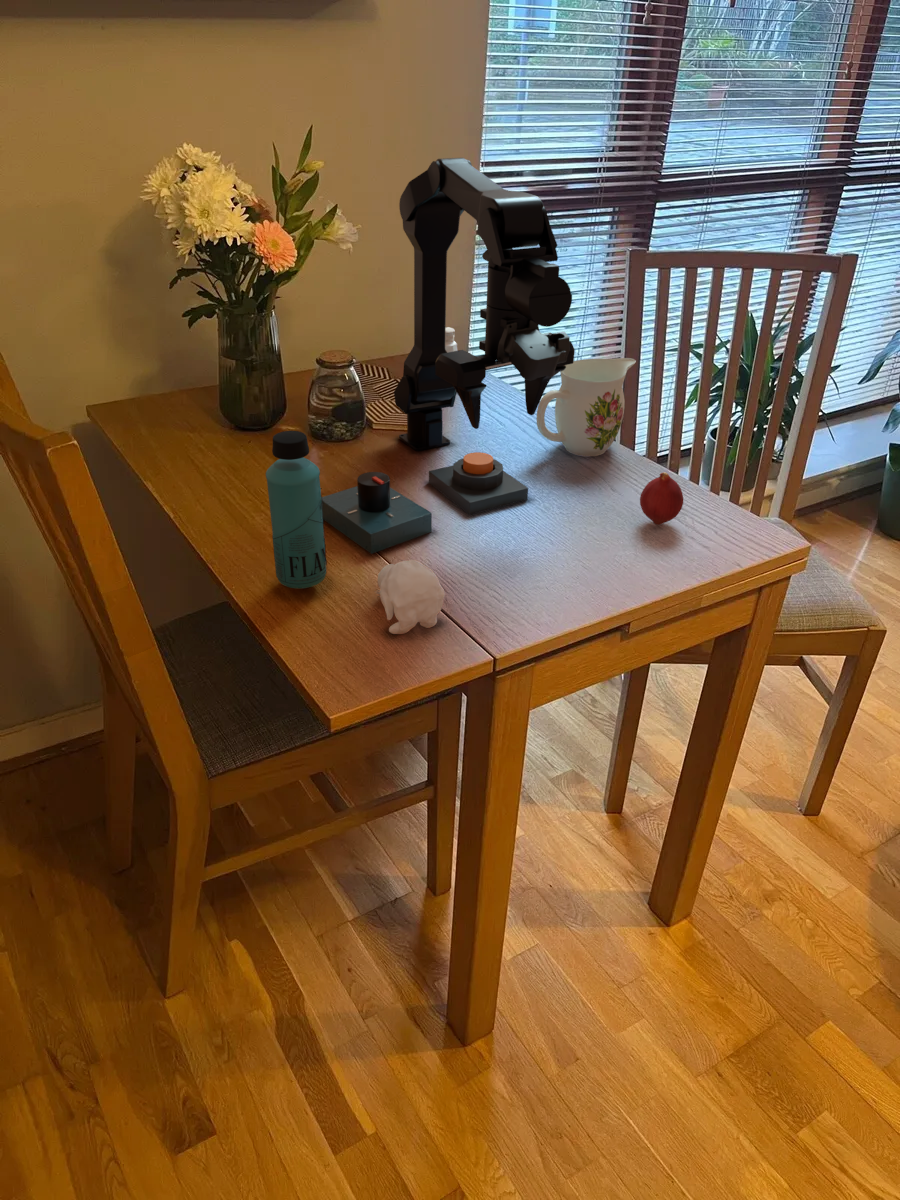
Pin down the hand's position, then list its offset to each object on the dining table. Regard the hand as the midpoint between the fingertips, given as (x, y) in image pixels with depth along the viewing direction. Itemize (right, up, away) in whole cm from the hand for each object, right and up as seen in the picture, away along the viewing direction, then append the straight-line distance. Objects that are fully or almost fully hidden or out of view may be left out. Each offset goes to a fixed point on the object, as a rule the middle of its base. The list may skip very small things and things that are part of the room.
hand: (503, 420), depth 124 cm
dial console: (-18, -14, +4) cm, 23 cm away
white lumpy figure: (-13, -26, -15) cm, 33 cm away
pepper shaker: (-8, +21, +47) cm, 52 cm away
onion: (+22, -14, +5) cm, 27 cm away
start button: (-3, -5, +11) cm, 13 cm away
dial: (-18, -11, +2) cm, 21 cm away
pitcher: (+14, 0, +27) cm, 30 cm away
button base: (-3, -8, +13) cm, 16 cm away
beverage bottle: (-26, -23, -9) cm, 35 cm away
